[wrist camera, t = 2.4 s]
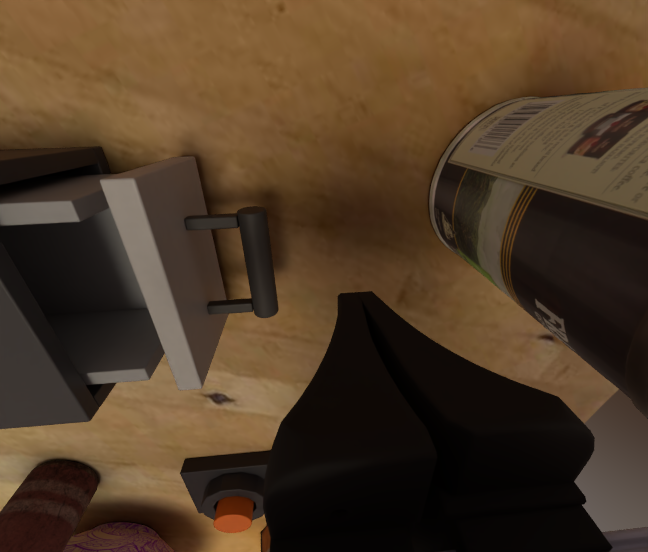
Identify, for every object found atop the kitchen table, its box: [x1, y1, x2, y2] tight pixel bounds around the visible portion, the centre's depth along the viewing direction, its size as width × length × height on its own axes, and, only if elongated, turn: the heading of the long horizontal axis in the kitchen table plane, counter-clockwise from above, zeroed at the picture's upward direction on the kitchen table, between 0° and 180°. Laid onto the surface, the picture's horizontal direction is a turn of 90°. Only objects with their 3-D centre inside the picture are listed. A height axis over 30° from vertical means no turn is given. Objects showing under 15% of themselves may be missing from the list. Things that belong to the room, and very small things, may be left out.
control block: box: [180, 451, 271, 520], centre depth 31 cm, size 10×8×3 cm
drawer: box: [0, 156, 278, 390], centre depth 15 cm, size 16×10×7 cm, turn 92°
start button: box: [214, 496, 254, 533], centre depth 29 cm, size 4×4×2 cm
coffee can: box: [429, 88, 648, 419], centre depth 13 cm, size 10×10×14 cm
